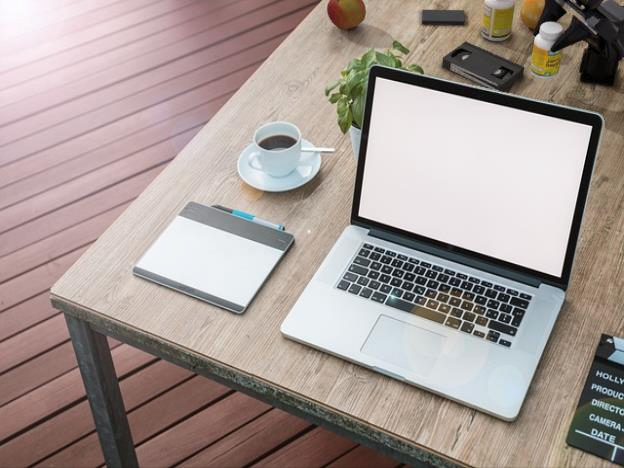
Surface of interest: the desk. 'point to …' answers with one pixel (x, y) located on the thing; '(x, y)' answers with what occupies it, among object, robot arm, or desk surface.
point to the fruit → (531, 12)
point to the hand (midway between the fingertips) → (542, 43)
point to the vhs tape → (482, 66)
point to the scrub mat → (443, 17)
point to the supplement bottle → (546, 51)
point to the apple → (346, 13)
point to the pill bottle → (497, 19)
